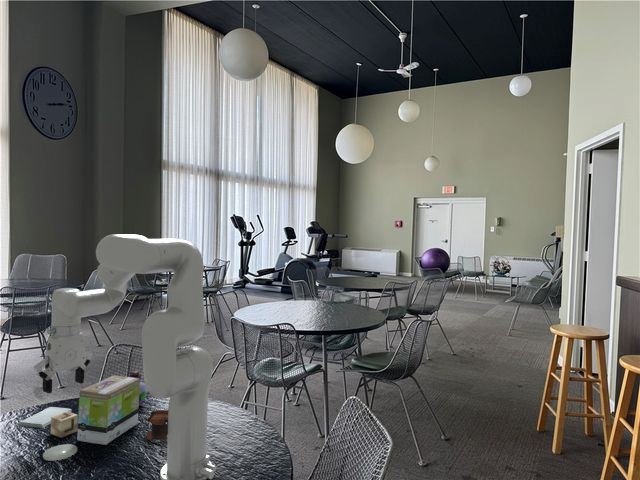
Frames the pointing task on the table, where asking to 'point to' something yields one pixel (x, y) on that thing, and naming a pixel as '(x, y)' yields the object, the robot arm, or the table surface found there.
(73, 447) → the pale green disc
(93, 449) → the table surface
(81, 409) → the tea box
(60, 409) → the hard drive
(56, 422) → the letter cube
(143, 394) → the potion bottle
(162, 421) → the pottery mug
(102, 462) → the table surface
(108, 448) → the table surface
